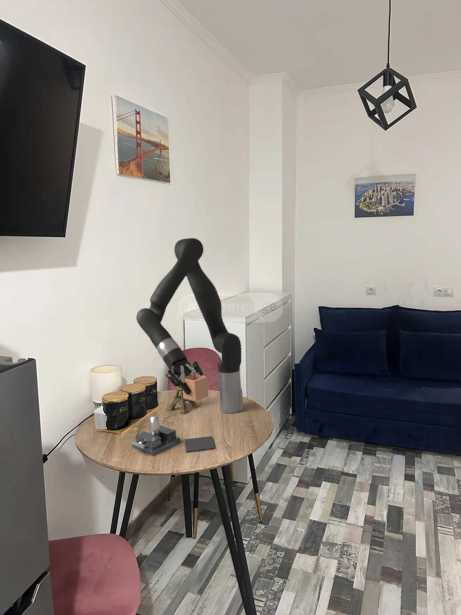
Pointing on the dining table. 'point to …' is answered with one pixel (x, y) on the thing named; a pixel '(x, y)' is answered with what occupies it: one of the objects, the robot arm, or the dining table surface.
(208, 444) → the mat
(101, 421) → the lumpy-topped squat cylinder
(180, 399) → the eiffel tower
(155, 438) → the vise
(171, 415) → the dining table surface
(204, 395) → the collar
